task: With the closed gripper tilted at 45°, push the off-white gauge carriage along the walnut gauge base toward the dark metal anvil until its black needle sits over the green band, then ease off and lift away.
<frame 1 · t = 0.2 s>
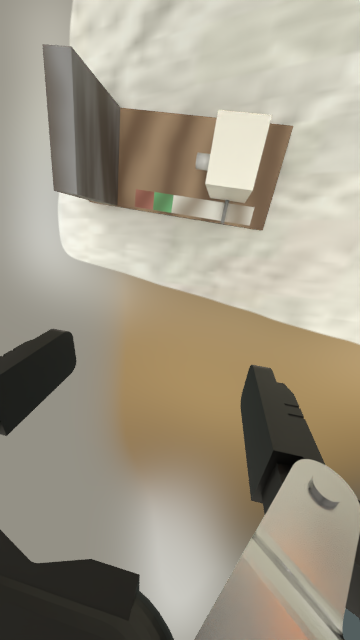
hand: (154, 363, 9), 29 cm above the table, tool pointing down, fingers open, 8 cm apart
carriage: (222, 180, 25), point 6 cm above the table, slide at 0.0 cm
gauge base: (179, 171, 31), on the table
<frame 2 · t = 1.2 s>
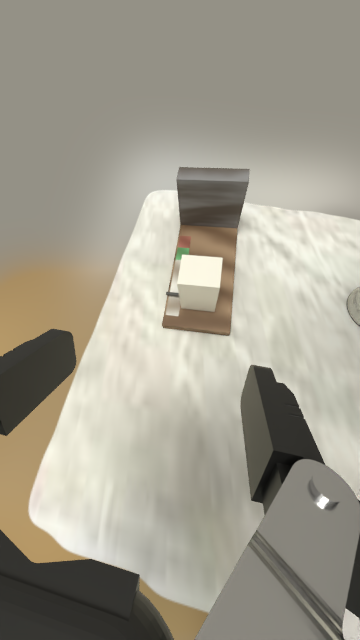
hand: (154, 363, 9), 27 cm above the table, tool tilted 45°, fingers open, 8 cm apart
carriage: (191, 279, 34), point 6 cm above the table, slide at 0.0 cm
gauge base: (203, 266, 42), on the table
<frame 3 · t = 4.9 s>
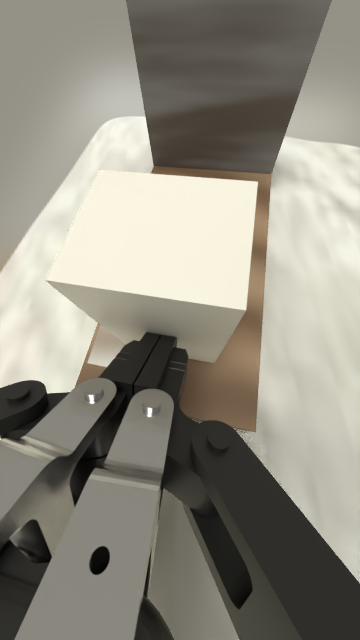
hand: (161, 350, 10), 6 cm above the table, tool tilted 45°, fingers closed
carriage: (148, 272, 11), point 6 cm above the table, slide at 0.1 cm, touching gripper
gauge base: (195, 250, 19), on the table
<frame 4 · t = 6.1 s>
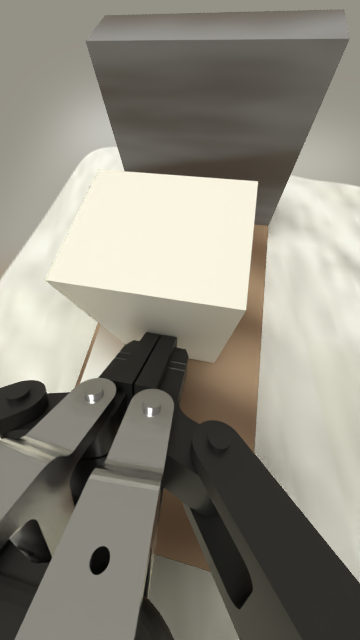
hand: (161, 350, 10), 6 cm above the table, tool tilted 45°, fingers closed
carriage: (148, 272, 11), point 6 cm above the table, slide at 6.8 cm, touching gripper
gauge base: (182, 315, 17), on the table
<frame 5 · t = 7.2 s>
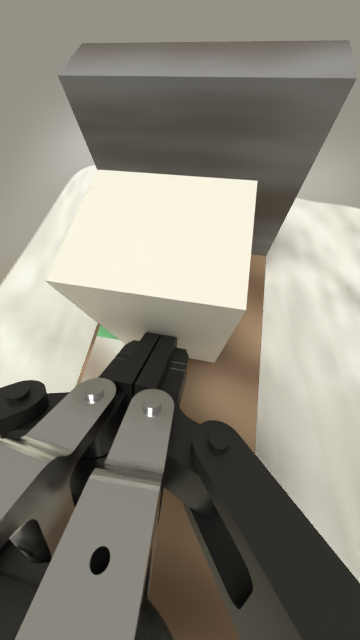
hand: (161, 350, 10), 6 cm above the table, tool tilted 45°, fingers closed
carriage: (148, 272, 11), point 6 cm above the table, slide at 10.1 cm, touching gripper
gauge base: (174, 354, 16), on the table
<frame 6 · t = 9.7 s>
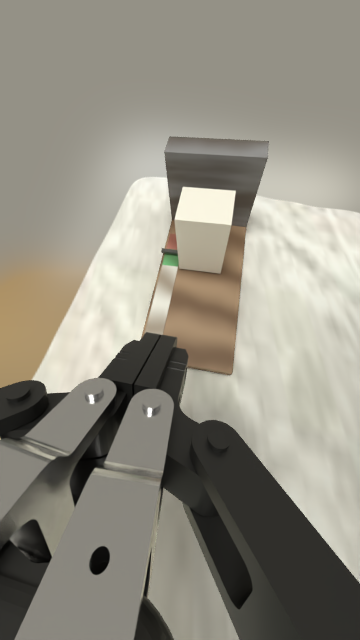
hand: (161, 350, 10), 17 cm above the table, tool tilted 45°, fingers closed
carriage: (193, 227, 27), point 6 cm above the table, slide at 10.1 cm
gauge base: (199, 275, 31), on the table
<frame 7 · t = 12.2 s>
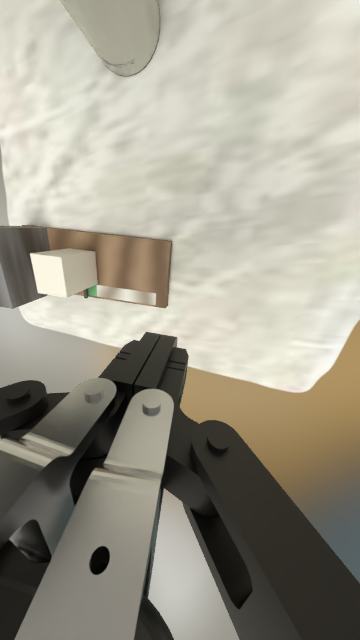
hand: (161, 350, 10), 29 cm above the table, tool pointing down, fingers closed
carriage: (64, 279, 35), point 6 cm above the table, slide at 10.1 cm
gauge base: (99, 266, 40), on the table
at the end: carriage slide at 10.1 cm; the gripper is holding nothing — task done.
